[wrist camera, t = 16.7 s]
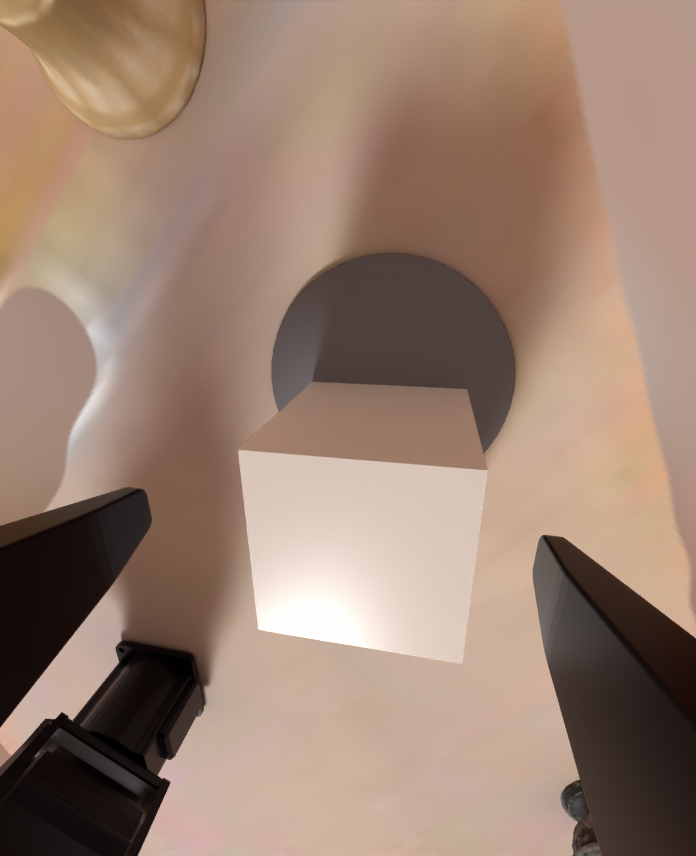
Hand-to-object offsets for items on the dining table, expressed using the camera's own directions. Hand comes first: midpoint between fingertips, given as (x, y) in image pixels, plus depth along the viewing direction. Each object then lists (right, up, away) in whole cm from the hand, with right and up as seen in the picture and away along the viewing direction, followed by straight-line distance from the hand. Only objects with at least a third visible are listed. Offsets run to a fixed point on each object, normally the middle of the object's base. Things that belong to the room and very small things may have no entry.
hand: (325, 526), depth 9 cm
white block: (+3, +1, +13) cm, 13 cm away
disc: (+2, +4, +11) cm, 12 cm away
